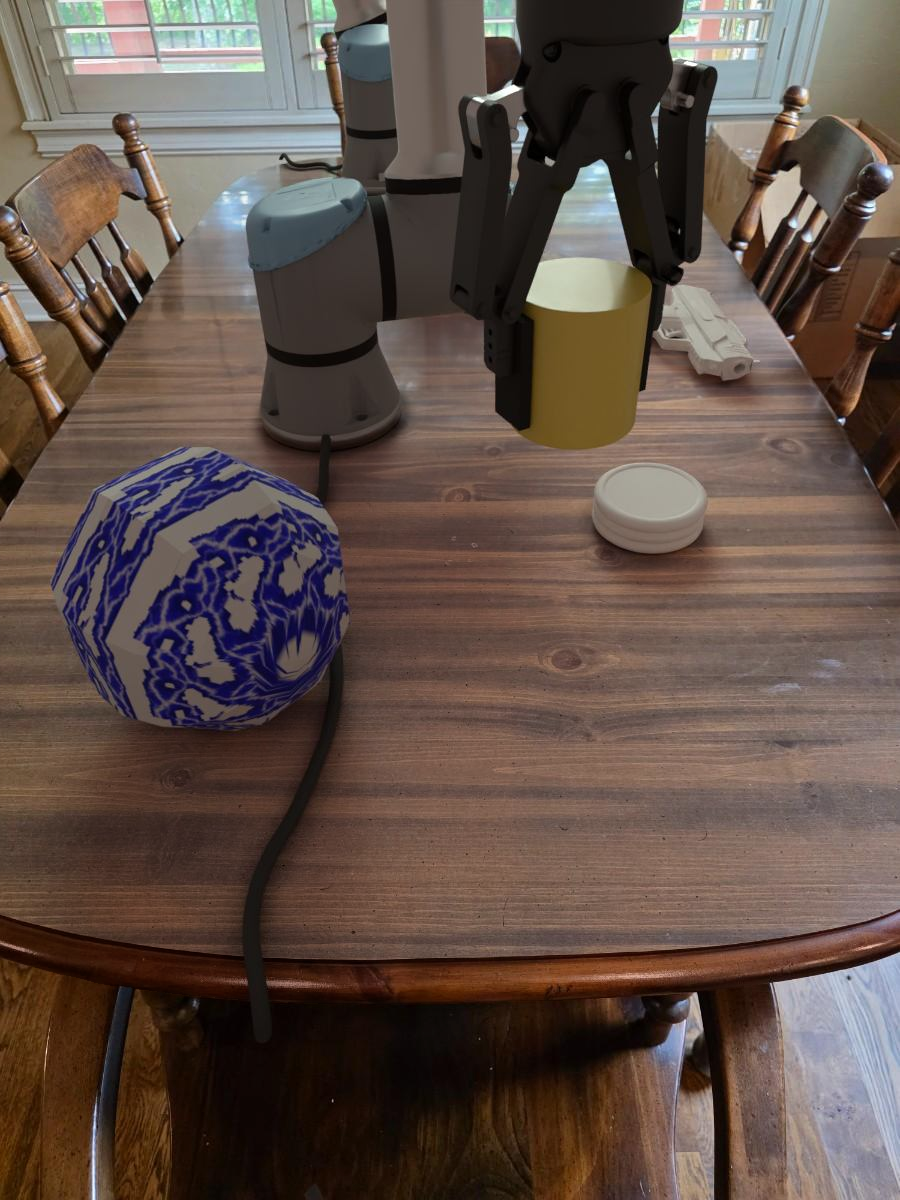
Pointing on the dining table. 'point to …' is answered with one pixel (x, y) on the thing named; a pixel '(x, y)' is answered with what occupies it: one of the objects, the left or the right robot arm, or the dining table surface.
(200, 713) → the ornament
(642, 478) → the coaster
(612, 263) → the can
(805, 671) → the dining table surface
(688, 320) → the pistol
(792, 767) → the dining table surface
